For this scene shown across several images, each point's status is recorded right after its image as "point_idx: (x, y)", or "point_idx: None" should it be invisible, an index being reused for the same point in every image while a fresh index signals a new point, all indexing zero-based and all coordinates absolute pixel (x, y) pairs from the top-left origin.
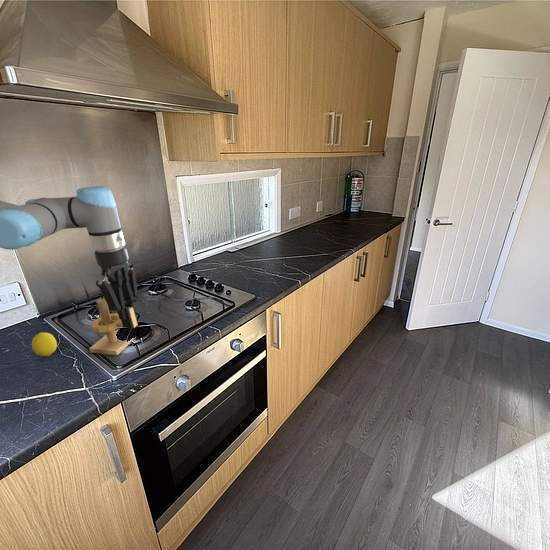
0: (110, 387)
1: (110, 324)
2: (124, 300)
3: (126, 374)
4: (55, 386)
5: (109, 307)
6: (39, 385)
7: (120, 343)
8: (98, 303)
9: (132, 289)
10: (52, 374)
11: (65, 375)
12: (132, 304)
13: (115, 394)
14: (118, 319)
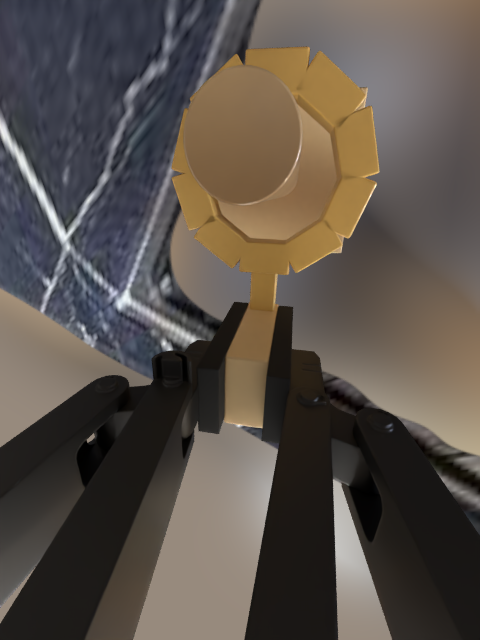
0: (92, 311)
1: (223, 233)
2: (288, 398)
3: (143, 326)
4: (34, 122)
5: (75, 399)
6: (12, 42)
7: (260, 230)
8: (190, 145)
9: (371, 551)
10: (66, 36)
11: (80, 109)
12: (275, 437)
13: (79, 336)
14: (284, 248)
